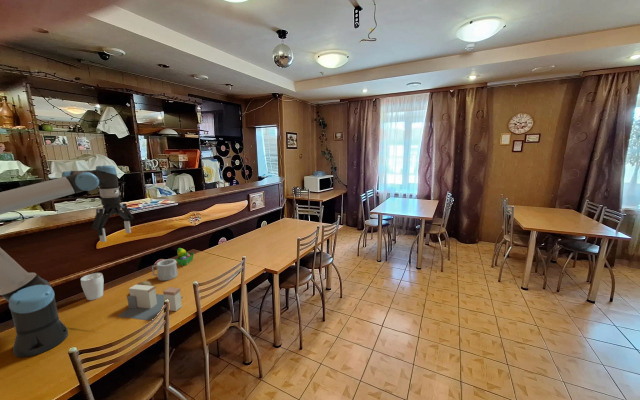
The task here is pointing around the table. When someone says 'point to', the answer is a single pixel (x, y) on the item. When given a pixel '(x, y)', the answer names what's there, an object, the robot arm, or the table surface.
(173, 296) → the brown topped white box
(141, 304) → the cream rectangular block
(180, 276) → the table surface
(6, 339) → the table surface
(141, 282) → the bread roll
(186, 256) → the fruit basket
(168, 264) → the mug
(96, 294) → the cup
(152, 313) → the slate mat
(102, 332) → the table surface
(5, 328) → the table surface
